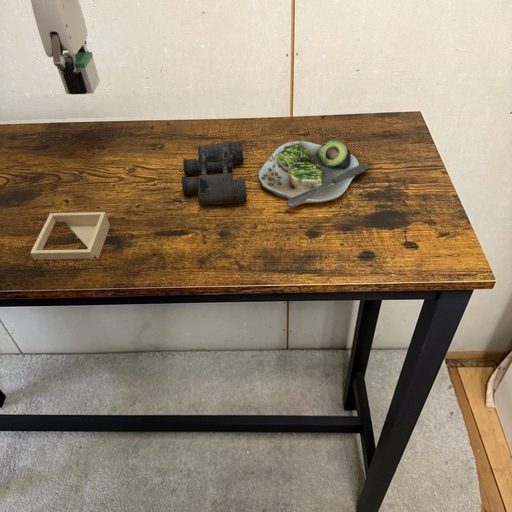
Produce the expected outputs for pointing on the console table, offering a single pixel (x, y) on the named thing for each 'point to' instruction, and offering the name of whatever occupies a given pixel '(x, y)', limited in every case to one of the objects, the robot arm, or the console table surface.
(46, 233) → the tray
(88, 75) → the container
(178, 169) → the console table surface
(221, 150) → the binoculars
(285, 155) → the salad plate
